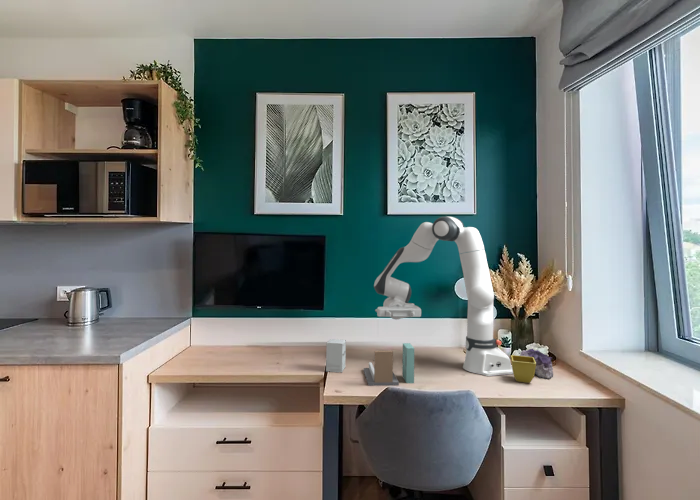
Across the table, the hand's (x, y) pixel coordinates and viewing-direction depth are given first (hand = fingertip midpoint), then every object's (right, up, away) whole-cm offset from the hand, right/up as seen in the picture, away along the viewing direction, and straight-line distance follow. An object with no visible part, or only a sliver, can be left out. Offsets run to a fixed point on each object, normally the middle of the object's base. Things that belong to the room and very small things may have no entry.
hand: (402, 315), depth 171 cm
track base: (-10, -24, -11) cm, 28 cm away
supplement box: (-29, -24, -1) cm, 38 cm away
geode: (+60, -25, -1) cm, 65 cm away
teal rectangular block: (+1, -24, -13) cm, 27 cm away
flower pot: (+48, -25, -12) cm, 55 cm away
